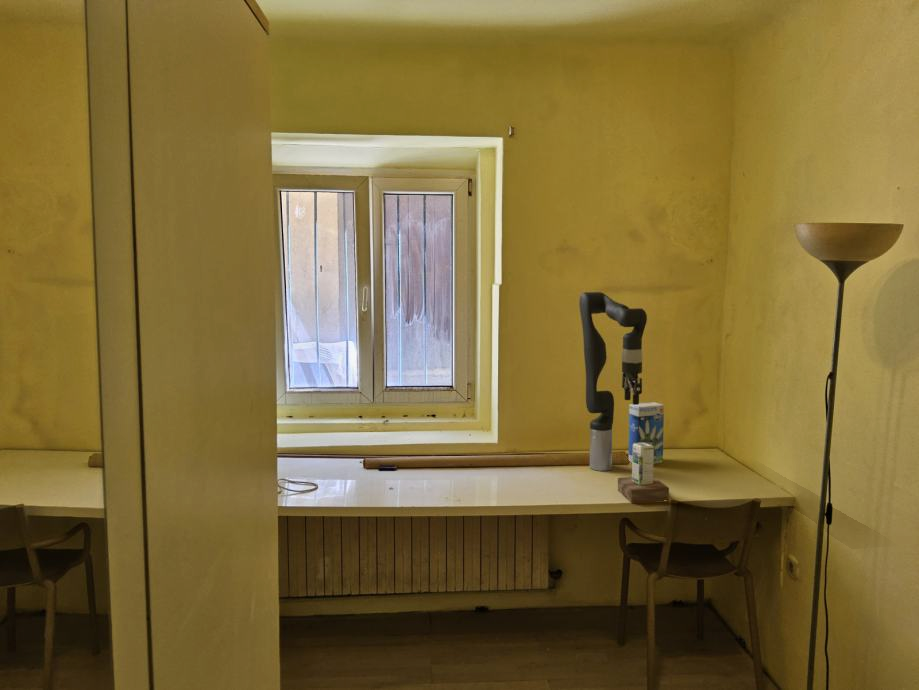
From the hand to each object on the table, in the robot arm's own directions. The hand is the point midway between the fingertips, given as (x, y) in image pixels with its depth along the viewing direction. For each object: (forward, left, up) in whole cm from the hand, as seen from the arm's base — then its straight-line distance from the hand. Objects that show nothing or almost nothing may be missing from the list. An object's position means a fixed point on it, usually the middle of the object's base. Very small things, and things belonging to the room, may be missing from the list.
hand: (631, 402), depth 250 cm
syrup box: (+12, 0, -28) cm, 31 cm away
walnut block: (+12, 0, -33) cm, 35 cm away
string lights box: (-29, +18, -33) cm, 48 cm away
